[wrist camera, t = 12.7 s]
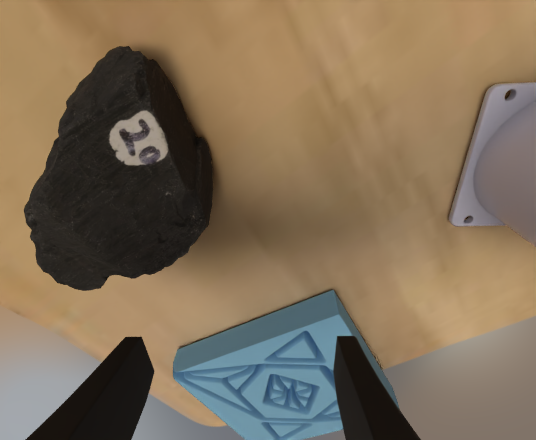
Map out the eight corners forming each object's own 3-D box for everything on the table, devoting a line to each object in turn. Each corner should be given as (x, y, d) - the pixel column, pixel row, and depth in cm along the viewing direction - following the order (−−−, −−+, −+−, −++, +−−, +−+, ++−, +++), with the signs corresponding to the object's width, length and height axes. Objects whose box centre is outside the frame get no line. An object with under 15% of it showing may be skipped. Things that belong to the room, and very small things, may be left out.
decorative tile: (332, 287, 22) (338, 312, 19) (393, 387, 27) (403, 415, 25) (177, 348, 25) (168, 375, 23) (259, 425, 31) (258, 452, 29)
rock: (165, 36, 14) (99, 27, 9) (237, 215, 19) (221, 276, 14) (14, 94, 16) (-115, 114, 11) (116, 246, 20) (61, 311, 15)
